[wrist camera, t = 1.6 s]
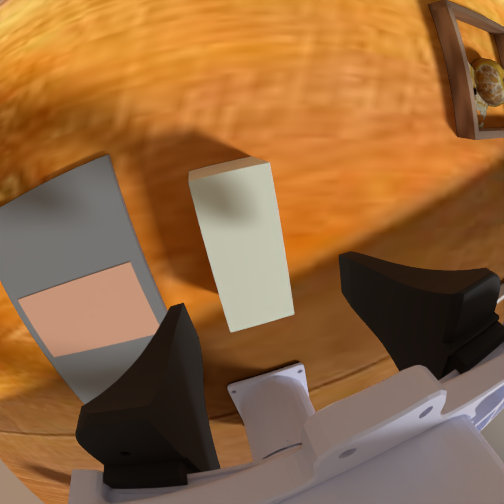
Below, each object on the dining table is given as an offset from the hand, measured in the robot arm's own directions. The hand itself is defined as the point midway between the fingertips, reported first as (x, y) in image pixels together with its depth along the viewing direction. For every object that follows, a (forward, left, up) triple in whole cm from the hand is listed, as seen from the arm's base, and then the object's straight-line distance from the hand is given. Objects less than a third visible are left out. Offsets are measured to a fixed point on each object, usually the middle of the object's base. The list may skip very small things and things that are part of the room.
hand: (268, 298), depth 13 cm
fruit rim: (+11, -31, -9) cm, 34 cm away
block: (0, 0, -10) cm, 10 cm away
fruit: (+10, -29, -10) cm, 32 cm away
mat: (-3, +14, -9) cm, 17 cm away
